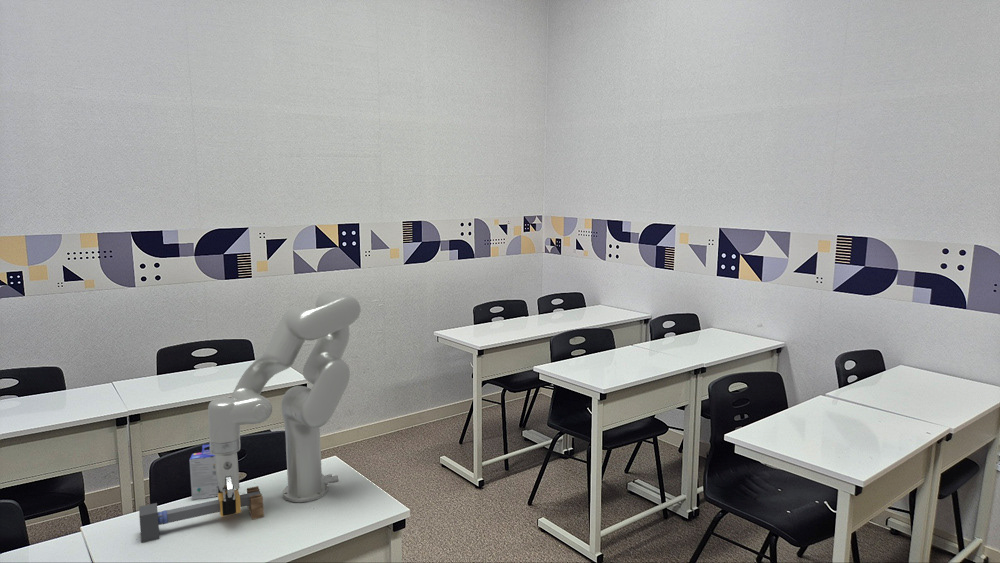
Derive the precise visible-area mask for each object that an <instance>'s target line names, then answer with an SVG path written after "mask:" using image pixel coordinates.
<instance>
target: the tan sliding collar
mask: <svg viewBox="0 0 1000 563" xmlns="http://www.w3.org/2000/svg"><path fill="white" fill-rule="evenodd" d="M226 493H227V492H225V495H226ZM234 493H235V498H236V513H235V514H241V513H242V509H241V508H242V507H241V503H240V495H241V494H240V492H239V489H234ZM217 500H219V502H220V512H219V515H220V518H223V517H224V516H223V509H222V501H223V492H222V493H218V496H217ZM235 514H234V515H235ZM231 515H233V514H231ZM231 515H230V516H231ZM227 516H228V517H229V515H226V516H225V517H227Z"/></svg>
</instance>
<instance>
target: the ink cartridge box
mask: <svg viewBox="0 0 1000 563" xmlns="http://www.w3.org/2000/svg"><path fill="white" fill-rule="evenodd" d="M206 448H210V444H202V446H201V452H195V453H192V454H191V455H190V458H189V460H188V461H189V475H190V477H189V478H190V489H191V500H192V501H193V499H194V500H200V499H209V498H215V497H216V496H217V497H218V483H217V478H216V470H215V455H212V454H210V449H206Z"/></svg>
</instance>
